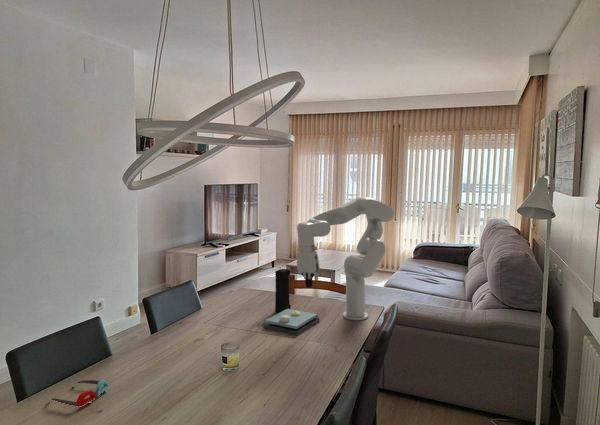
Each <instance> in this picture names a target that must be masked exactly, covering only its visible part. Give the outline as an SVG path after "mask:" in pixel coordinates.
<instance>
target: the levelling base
mask: <svg viewBox="0 0 600 425" xmlns="http://www.w3.org/2000/svg"><path fill="white" fill-rule="evenodd" d="M318 323H320V317H316V318H314V319H312V320H311V321H309V322H307V323H306V324H304V325H303V326H301V327H299V328H298V329H294V328H289V327H284V326H280V325H275V324H270V323H263V324H262V328H263V330H269V331H273V332H279V333H282V334H287V335H292V336H295V337H297V336H300V335H301V334H303V333H304V332H306V331H307V330H309V329H310V328H312V327H313V326H316V324H318Z"/></svg>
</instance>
